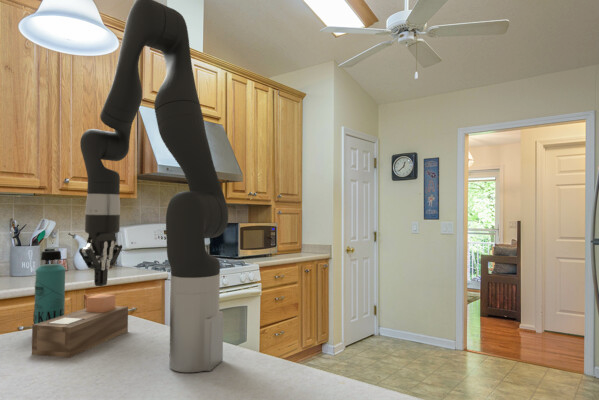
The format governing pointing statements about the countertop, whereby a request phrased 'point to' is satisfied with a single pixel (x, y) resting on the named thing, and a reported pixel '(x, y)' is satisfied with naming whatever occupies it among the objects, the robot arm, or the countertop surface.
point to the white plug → (65, 321)
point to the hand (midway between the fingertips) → (100, 285)
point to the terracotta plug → (100, 303)
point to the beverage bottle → (49, 289)
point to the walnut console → (78, 332)
